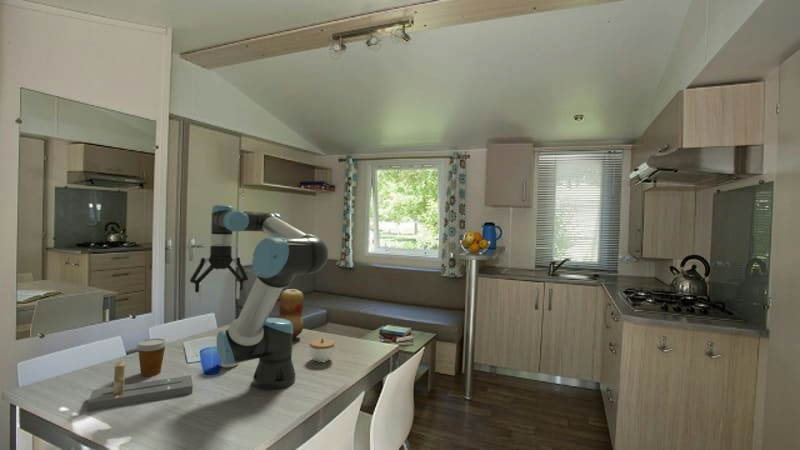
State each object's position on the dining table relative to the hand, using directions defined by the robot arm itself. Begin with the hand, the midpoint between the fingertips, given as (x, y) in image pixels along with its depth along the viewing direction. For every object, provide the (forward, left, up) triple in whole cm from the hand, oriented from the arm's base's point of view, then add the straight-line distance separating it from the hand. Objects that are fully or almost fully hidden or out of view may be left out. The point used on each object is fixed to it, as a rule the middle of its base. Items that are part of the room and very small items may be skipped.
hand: (218, 299), depth 147 cm
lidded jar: (-32, -27, -29) cm, 51 cm away
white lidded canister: (+1, -9, -29) cm, 30 cm away
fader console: (+9, +23, -29) cm, 38 cm away
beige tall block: (+14, +28, -26) cm, 41 cm away
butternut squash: (-4, -49, -29) cm, 57 cm away
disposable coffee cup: (+22, +8, -29) cm, 37 cm away
